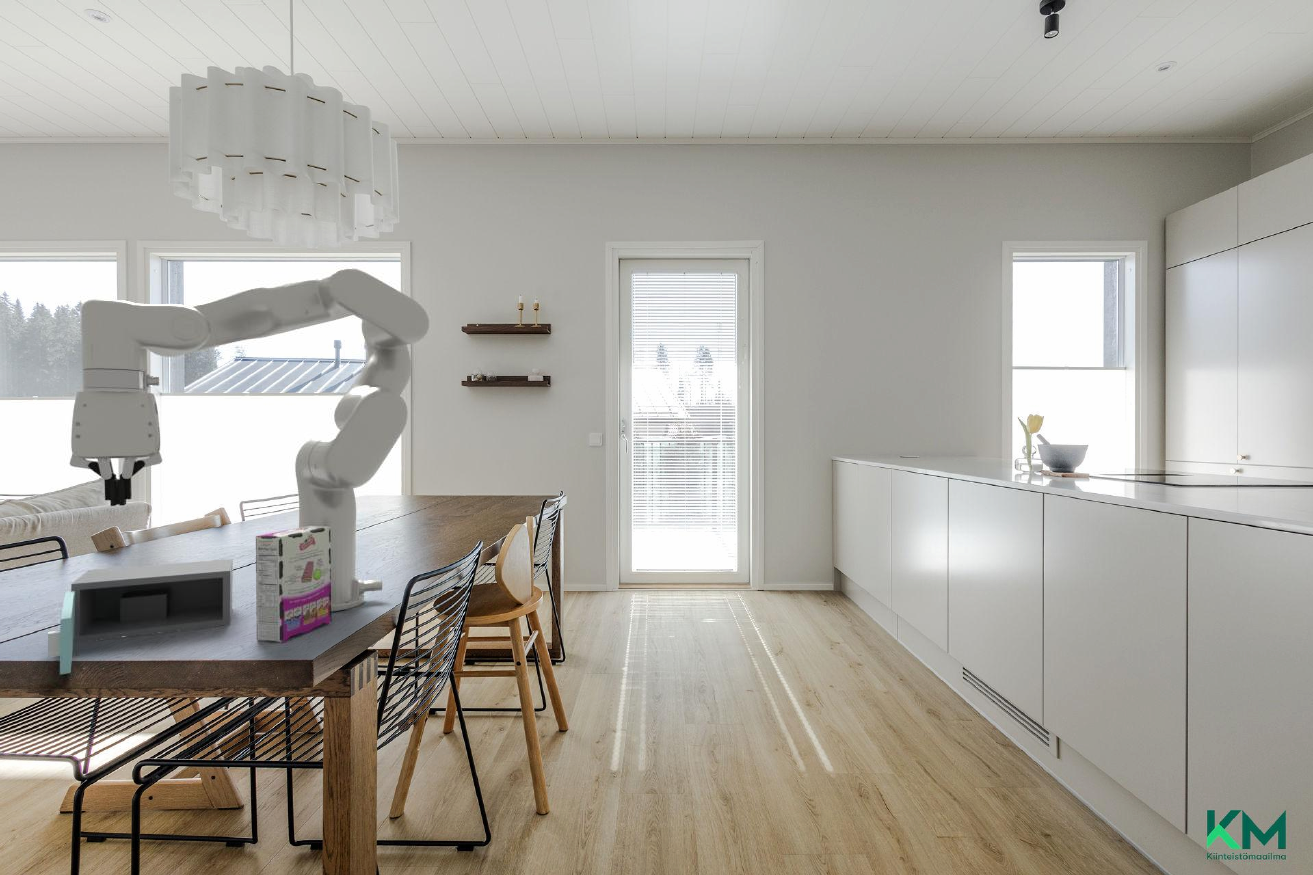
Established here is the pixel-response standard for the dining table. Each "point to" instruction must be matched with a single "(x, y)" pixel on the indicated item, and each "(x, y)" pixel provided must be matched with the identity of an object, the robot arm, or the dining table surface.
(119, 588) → the case
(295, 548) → the candy bar box
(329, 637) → the dining table surface
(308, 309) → the robot arm
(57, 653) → the side door
